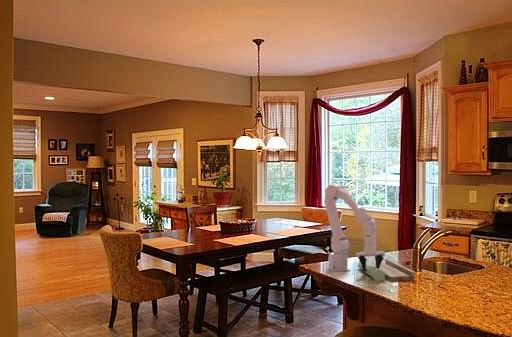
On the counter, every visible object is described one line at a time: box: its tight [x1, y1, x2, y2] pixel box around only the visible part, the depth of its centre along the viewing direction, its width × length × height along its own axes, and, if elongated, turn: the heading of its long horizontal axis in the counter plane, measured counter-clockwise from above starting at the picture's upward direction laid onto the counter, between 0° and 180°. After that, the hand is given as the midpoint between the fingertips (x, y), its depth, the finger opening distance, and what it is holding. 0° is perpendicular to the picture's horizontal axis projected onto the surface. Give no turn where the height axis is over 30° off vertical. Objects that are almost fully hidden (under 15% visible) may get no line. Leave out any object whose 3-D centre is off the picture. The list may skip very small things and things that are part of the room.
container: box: [357, 261, 385, 282], centre depth 222 cm, size 6×6×25 cm
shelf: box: [370, 258, 415, 282], centre depth 223 cm, size 12×28×4 cm, turn 9°
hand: (370, 270), depth 222 cm, fingers open, 6 cm apart
